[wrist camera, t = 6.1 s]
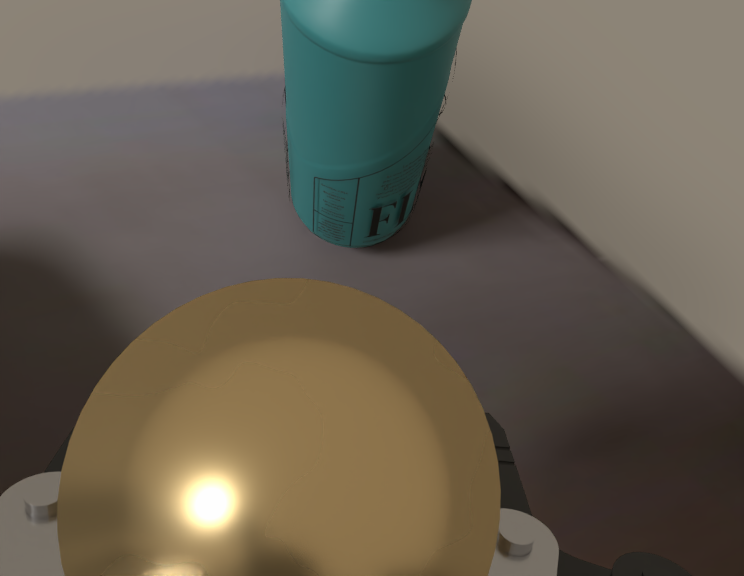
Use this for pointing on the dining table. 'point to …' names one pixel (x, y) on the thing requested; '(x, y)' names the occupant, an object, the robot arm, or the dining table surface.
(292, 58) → the beverage bottle
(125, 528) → the cylinder
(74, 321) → the dining table surface
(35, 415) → the dining table surface
